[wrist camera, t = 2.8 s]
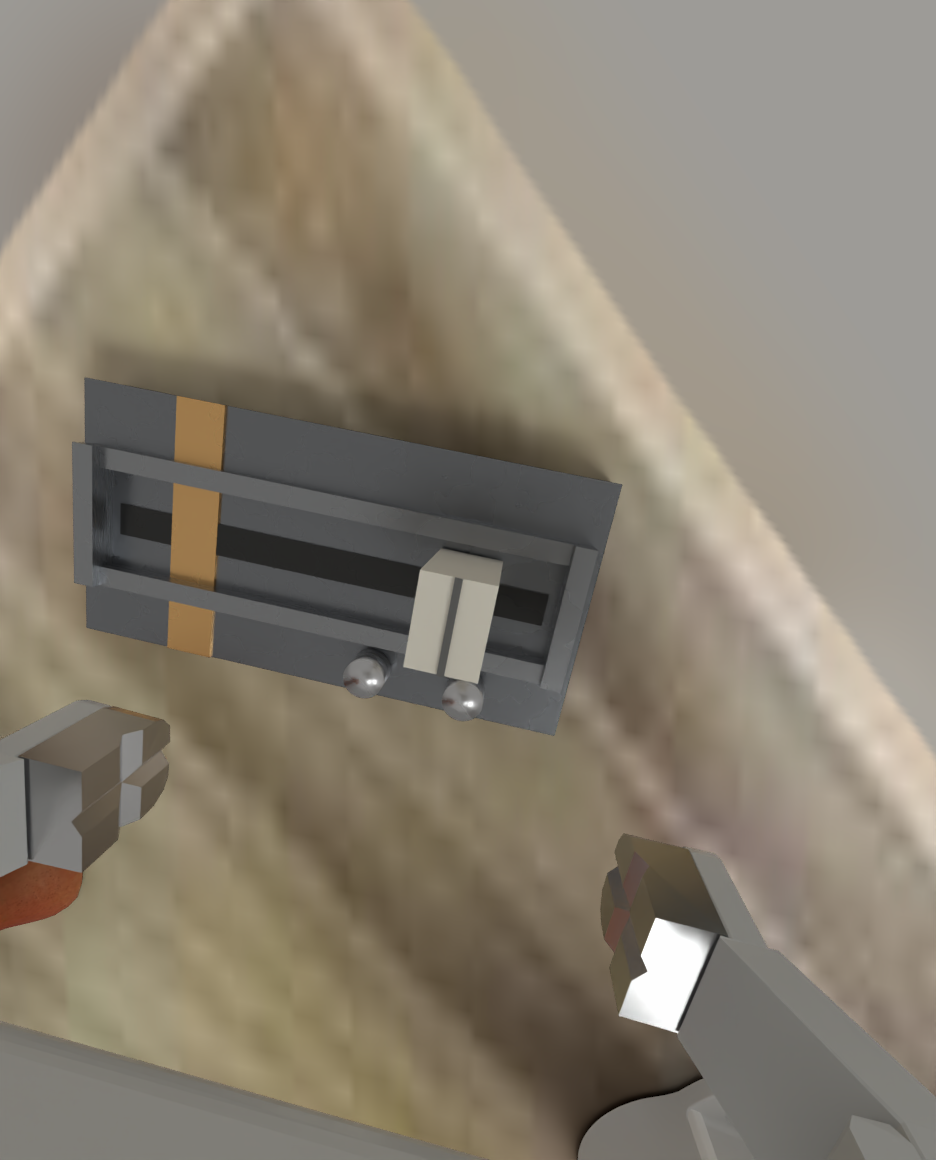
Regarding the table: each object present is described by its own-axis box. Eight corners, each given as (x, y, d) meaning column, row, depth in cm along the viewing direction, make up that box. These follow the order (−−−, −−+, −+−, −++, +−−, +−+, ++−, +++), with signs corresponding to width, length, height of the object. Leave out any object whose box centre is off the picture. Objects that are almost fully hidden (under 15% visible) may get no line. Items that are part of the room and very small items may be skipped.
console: (611, 483, 24) (630, 485, 20) (551, 711, 27) (556, 752, 23) (126, 386, 25) (54, 370, 21) (123, 614, 28) (60, 637, 24)
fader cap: (503, 560, 22) (498, 587, 17) (486, 638, 23) (477, 685, 18) (441, 548, 22) (419, 570, 17) (427, 625, 23) (402, 668, 18)
